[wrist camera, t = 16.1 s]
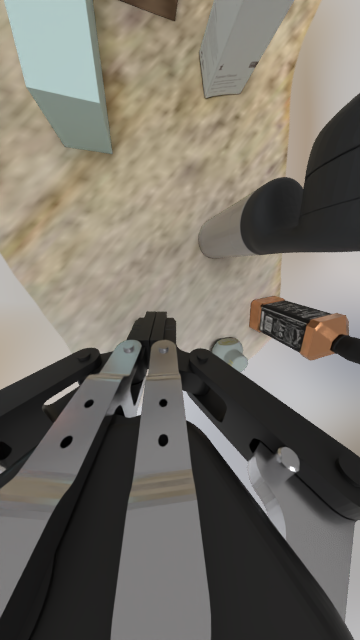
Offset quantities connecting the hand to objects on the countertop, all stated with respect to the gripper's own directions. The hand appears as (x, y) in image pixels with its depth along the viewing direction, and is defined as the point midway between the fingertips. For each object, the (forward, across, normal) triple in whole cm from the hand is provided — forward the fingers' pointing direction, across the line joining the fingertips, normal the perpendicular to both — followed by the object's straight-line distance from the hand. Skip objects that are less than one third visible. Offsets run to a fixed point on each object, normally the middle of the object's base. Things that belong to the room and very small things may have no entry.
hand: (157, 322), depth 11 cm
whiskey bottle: (+35, -32, +17) cm, 50 cm away
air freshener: (+30, -18, +28) cm, 45 cm away
